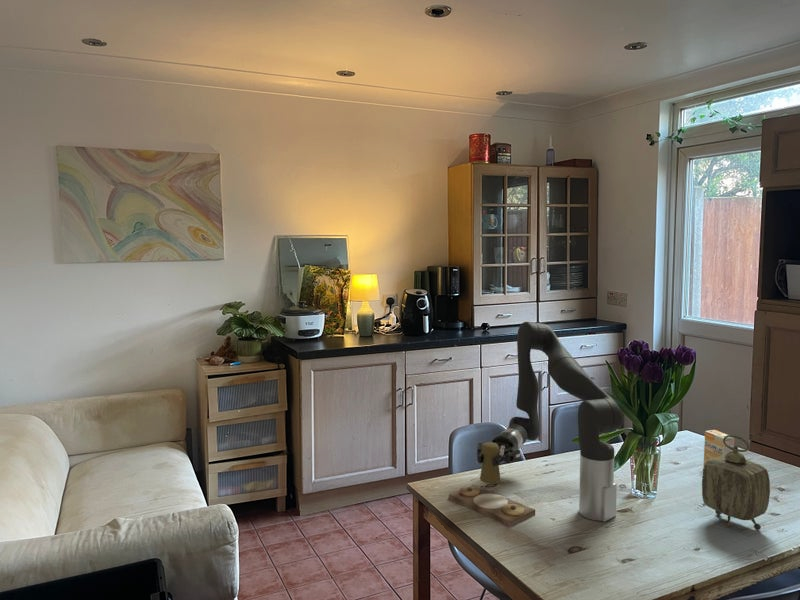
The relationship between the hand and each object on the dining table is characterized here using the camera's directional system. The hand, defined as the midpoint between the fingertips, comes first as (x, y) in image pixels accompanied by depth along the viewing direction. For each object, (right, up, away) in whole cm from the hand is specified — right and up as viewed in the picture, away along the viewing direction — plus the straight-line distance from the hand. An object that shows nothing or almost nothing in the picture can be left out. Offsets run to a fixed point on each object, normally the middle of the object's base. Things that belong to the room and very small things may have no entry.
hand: (486, 461), depth 172 cm
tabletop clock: (+66, -15, -9) cm, 68 cm away
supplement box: (+83, -12, +29) cm, 88 cm away
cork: (+1, -6, +3) cm, 7 cm away
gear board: (+2, -14, +3) cm, 15 cm away
